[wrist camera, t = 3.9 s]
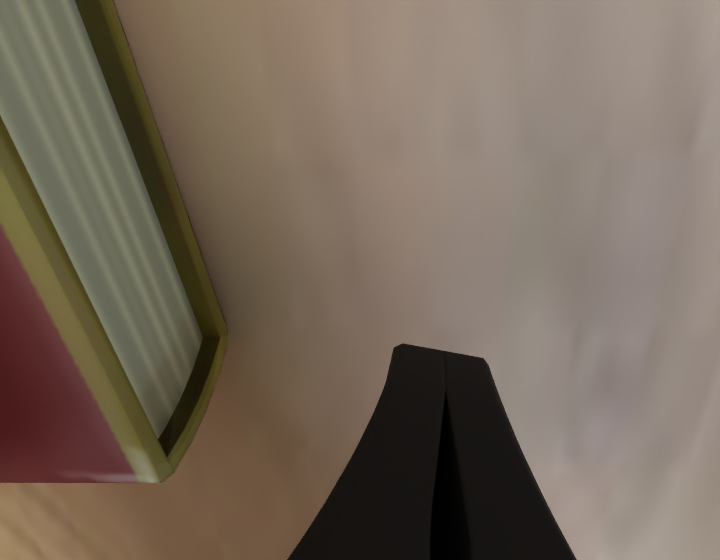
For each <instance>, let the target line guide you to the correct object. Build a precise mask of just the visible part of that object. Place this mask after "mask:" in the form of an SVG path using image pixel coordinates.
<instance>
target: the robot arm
mask: <svg viewBox="0 0 720 560" xmlns="http://www.w3.org/2000/svg"><path fill="white" fill-rule="evenodd" d="M287 560H577V559H576V558H575V556H574V554H573V552H572V550H571V549H570V547H569V545H568V543H567V541H566V539H565V537H564V536H563V534H562V532H561V530H560V528H559V526H558V524H557V522H556V521H555V519H554V517H553V515H552V513H551V511H550V509H549V507H548V505H547V503H546V501H545V499H544V497H543V495H542V493H541V491H540V489H539V486H538V484H537V482H536V480H535V478H534V476H533V474H532V472H531V469H530V467H529V465H528V463H527V461H526V459H525V457H524V455H523V452H522V450H521V448H520V445H519V443H518V441H517V439H516V436H515V434H514V431H513V429H512V427H511V424H510V422H509V419H508V417H507V414H506V412H505V409H504V407H503V404H502V402H501V399H500V396H499V394H498V391H497V388H496V385H495V383H494V380H493V377H492V374H491V371H490V368H489V365H488V364H487V362H486V361H485V360H484V358H480V357H474V356H469V355H463V354H458V353H452V352H447V351H441V350H436V349H430V348H425V347H419V346H414V345H408V344H400V345H398V346H396V347H394V349H393V353H392V357H391V362H390V366H389V371H388V375H387V380H386V383H385V386H384V389H383V391H382V394H381V396H380V399H379V401H378V403H377V406H376V408H375V411H374V413H373V415H372V417H371V419H370V421H369V423H368V425H367V427H366V429H365V431H364V433H363V435H362V438H361V440H360V442H359V444H358V446H357V448H356V450H355V452H354V453H353V455H352V457H351V459H350V461H349V462H348V464H347V466H346V468H345V469H344V471H343V473H342V474H341V476H340V478H339V480H338V481H337V483H336V485H335V487H334V488H333V490H332V492H331V493H330V495H329V497H328V499H327V500H326V502H325V504H324V505H323V507H322V508H321V510H320V511H319V513H318V515H317V516H316V518H315V519H314V521H313V522H312V524H311V526H310V527H309V529H308V530H307V532H306V533H305V535H304V536H303V538H302V539H301V541H300V542H299V543H298V545H297V546H296V548H295V549H294V551H293V552H292V554H291V555H290V557H289V558H288V559H287Z"/></svg>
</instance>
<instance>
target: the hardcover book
mask: <svg viewBox="0 0 720 560" xmlns="http://www.w3.org/2000/svg"><path fill="white" fill-rule="evenodd" d="M227 333H228V331H227V328H226V325H225V322H224V319H223V316H222V313H221V310H220V308H219V305H218V302H217V299H216V296H215V293H214V290H213V287H212V285H211V282H210V279H209V276H208V273H207V270H206V267H205V264H204V262H203V259H202V256H201V253H200V250H199V247H198V244H197V241H196V239H195V236H194V233H193V230H192V227H191V224H190V221H189V218H188V216H187V213H186V210H185V207H184V204H183V201H182V198H181V195H180V193H179V190H178V187H177V184H176V181H175V178H174V175H173V172H172V170H171V167H170V164H169V161H168V158H167V155H166V152H165V150H164V147H163V144H162V141H161V138H160V135H159V132H158V129H157V127H156V124H155V121H154V118H153V115H152V112H151V109H150V106H149V104H148V101H147V98H146V95H145V92H144V89H143V86H142V83H141V81H140V78H139V75H138V72H137V69H136V66H135V63H134V60H133V58H132V55H131V52H130V49H129V46H128V43H127V40H126V37H125V35H124V32H123V29H122V26H121V23H120V20H119V17H118V14H117V12H116V9H115V6H114V3H113V0H0V483H162V482H163V481H164V480H166V479H167V478H168V477H169V476H170V475H172V474H173V473H174V472H175V470H176V468H177V467H178V465H179V463H180V461H181V460H182V458H183V456H184V454H185V453H186V451H187V449H188V448H189V446H190V444H191V442H192V440H193V438H194V436H195V434H196V431H197V429H198V427H199V425H200V423H201V421H202V419H203V416H204V414H205V412H206V409H207V407H208V404H209V401H210V398H211V396H212V393H213V390H214V388H215V385H216V382H217V379H218V375H219V372H220V368H221V365H222V362H223V358H224V355H225V351H226V342H227Z"/></svg>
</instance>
